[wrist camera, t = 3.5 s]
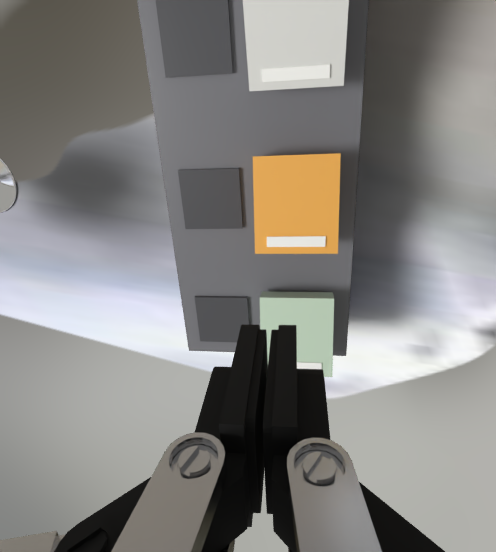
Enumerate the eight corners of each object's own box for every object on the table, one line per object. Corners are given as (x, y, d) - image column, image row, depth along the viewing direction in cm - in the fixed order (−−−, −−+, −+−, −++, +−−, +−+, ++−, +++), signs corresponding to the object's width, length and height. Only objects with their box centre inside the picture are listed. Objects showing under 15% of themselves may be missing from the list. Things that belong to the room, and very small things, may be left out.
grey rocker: (349, -56, 15) (352, -57, 14) (341, 78, 18) (343, 86, 17) (243, -44, 15) (239, -45, 14) (252, 84, 18) (249, 91, 17)
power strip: (367, -171, 17) (386, -245, 13) (340, 320, 28) (346, 360, 24) (146, -138, 18) (104, -197, 15) (203, 317, 29) (187, 354, 25)
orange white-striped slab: (338, 154, 19) (340, 153, 18) (335, 249, 20) (337, 253, 19) (255, 157, 20) (252, 156, 18) (257, 249, 21) (254, 254, 19)
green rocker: (332, 292, 22) (334, 299, 21) (330, 367, 23) (332, 377, 22) (261, 291, 23) (259, 297, 22) (263, 364, 24) (261, 374, 23)
